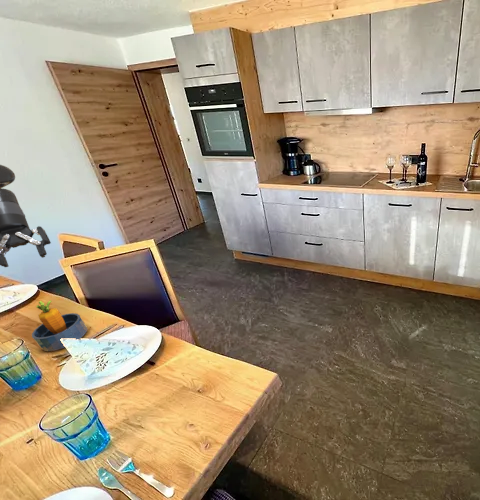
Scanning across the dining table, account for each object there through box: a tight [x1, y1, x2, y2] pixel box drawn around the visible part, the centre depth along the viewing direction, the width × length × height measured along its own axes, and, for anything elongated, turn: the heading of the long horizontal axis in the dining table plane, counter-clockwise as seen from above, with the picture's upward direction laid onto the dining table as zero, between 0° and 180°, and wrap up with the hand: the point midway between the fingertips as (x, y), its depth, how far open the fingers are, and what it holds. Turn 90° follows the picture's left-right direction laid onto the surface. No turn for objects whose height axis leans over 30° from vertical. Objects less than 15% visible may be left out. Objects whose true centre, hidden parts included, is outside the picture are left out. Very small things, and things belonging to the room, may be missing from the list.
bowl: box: [31, 312, 88, 352], centre depth 97 cm, size 12×12×6 cm
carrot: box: [35, 300, 67, 334], centre depth 95 cm, size 5×5×15 cm
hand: (24, 261), depth 92 cm, fingers open, 8 cm apart
